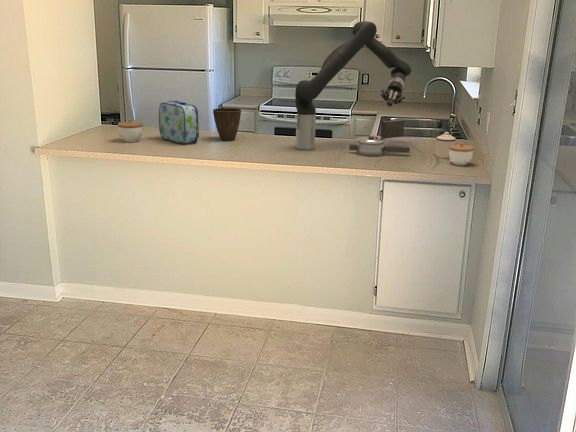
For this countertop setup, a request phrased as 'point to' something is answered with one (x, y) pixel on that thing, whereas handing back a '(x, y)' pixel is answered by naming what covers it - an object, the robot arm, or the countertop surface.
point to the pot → (376, 149)
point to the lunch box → (178, 122)
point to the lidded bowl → (130, 131)
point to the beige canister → (444, 145)
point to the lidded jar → (460, 154)
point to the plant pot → (227, 122)
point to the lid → (386, 132)
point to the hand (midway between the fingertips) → (389, 104)
